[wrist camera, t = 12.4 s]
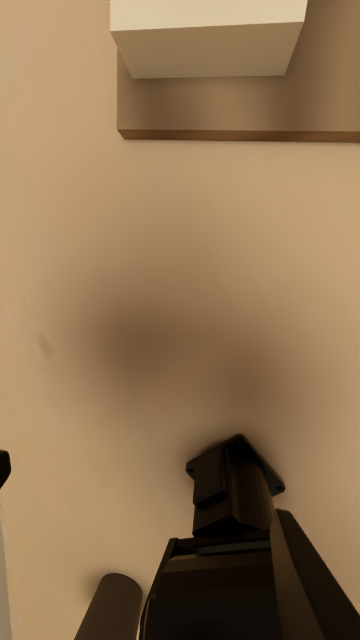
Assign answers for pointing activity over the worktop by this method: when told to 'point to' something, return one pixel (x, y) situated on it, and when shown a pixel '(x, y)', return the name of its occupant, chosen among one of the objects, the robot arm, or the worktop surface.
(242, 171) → the worktop surface
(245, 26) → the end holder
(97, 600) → the coffee cup
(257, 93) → the board
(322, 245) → the worktop surface
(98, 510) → the worktop surface
